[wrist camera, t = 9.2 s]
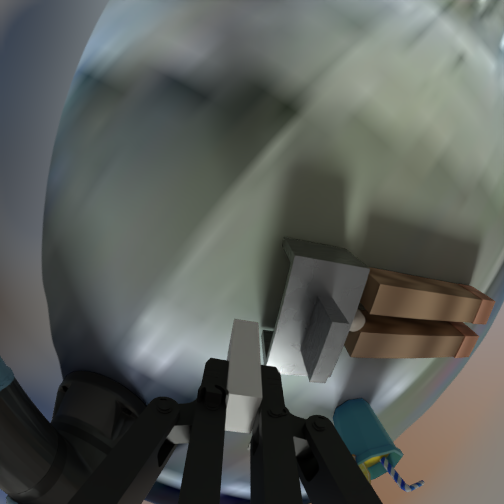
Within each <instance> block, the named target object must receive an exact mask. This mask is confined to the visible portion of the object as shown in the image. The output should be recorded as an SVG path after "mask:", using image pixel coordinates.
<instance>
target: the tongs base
mask: <svg viewBox="0 0 504 504" xmlns="http://www.w3.org/2000/svg"><path fill="white" fill-rule="evenodd" d="M478 337H479V336H478V335H477V334H476V333H475V332H474V331H472V330H471V329H470V328H469V327H468V326H466V325H465V324H464V323H463V322H454V321H440V320H426V319H414V318H403V317H393V316H383V315H373V314H369V313H368V311H367V310H361V309H358V308H357V311H356V314H355V317H354V319H353V322H352V325H351V328H350V330H349V333H348V335H347V338H346V341H345V343H344V346H345V348H346V349H347V351H348V353H349V355H350V357H358V358H434V357H454V358H462V357H469V355H470V353H471V351H472V350H473V348H474V346H475V344H476V342H477V339H478Z"/></svg>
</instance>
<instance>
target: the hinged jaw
mask: <svg viewBox="0 0 504 504" xmlns="http://www.w3.org/2000/svg"><path fill="white" fill-rule="evenodd" d="M369 268H370V271H369V275H368V278H367V281H366V284H365V287H364V290H363V293H362V296H361V299H360V303H361V304H362V305H363V306H364V308H365V309H366V310H367V311H368V313H369V314H373V315H383V316H393V317H403V318H414V319H426V320H440V321H454V322H471V323H473V324H486V323H487V320H488V318H489V316H490V313H491V311H492V309H493V306H494V304H495V301H494V300H493V299H491V298H489V297H488V296H486V295H485V294H483V293H482V292H480V291H479V290H477V289H475V288H474V287H472V286H468V285H463V284H455V283H450V282H445V281H440V280H434V279H429V278H424V277H419V276H413V275H408V274H403V273H398V272H392V271H387V270H382V269H376V268H371V267H369Z"/></svg>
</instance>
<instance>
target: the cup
mask: <svg viewBox="0 0 504 504" xmlns="http://www.w3.org/2000/svg"><path fill="white" fill-rule="evenodd" d="M333 421H334V426H335V428H336V430H337V432H338V433H339V435H340V437H341V438H342V440H343V441H344V443H345V445H346V446H347V448H348V450H349V451H350V453H351V454H352V456H353V458H354V459H355V461H356V462H357V464H358V466H359V467H360V469H361V470H362V472H363V473H364V475H365V477H366V478H367V480H368V481H369V483H370V482H371V480H372V479H375V478H377V477H379V476H381V475H383V474H384V473H386V472H389V474H390V475H391V476H392V478H393V479H394V480H395V482H396V483H397V484H398V485H399V487H400V488H401V489H403V490H404V491H406V492H410V491H412V490H414V489H416V488H418V487H420V486H422V485H423V484H424V481H423V480H422V481H419V482H417V483H415V484H412V485H410V486H409V485H407V484H406V483H405V482H404V481H403V479H402V478H401V477H400V476H399V474H398V473H397V472H396V471H395V469H394V467H395V466H396V464H397V463H398V462H399V460H400V459H401V458H402V456H403V453H402V452H401V450H400V449H398V448H396V447H395V445H394V443H393V442H392V440H391V438H390V437H389V435H388V434H387V432H386V430H385V429H384V427H383V426H382V424H381V422H380V421H379V419H378V418H377V416H376V415H375V413H374V411H373V410H372V408H371V407H370V405H369V404H368V403H367V402H366V401H365V400H364V399H362V398H359V399H353V400H348V401H346V402H345V403H343V404H342V405H340V406H339V407H337V408H336V410H335V413H334V416H333ZM370 485H371V483H370Z"/></svg>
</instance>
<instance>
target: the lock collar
mask: <svg viewBox="0 0 504 504" xmlns="http://www.w3.org/2000/svg"><path fill="white" fill-rule="evenodd" d="M282 246H283V248H284V250H285V252H286V254H287V256H288V258H289V260H290V262H291V264H290V268H289V272H288V276H287V280H286V285H285V289H284V293H283V297H282V301H281V305H280V309H279V313H278V317H277V320H276V324H275V328H274V331H268V330H263V331H262V335H261V339H262V350H263V360H264V365H266V366H275V367H276V368H277V369H278V371H279V372H280V374H287V375H300V376H308V378H309V382H314V383H326V381H327V378H328V377H331V374H332V372H333V370H334V367H335V365H336V363H337V360H338V358H339V356H340V353H341V351H342V348H343V346H344V343H345V341H346V338H347V335H348V333H349V330H350V328H351V325H352V322H353V319H354V317H355V314H356V311H357V308H358V305H359V302H360V299H361V296H362V293H363V290H364V287H365V284H366V281H367V278H368V275H369V271H370V268H369V267H367V266H366V265H365V264H364V263H363V262H361V261H360V260H359V259H358V258H356V257H355V256H354V255H353V254H351V253H350V252H349V251H348V250H346V249H344V248H339V247H334V246H329V245H324V244H319V243H313V242H308V241H303V240H298V239H292V238H287V237H284V240H283V244H282Z"/></svg>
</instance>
